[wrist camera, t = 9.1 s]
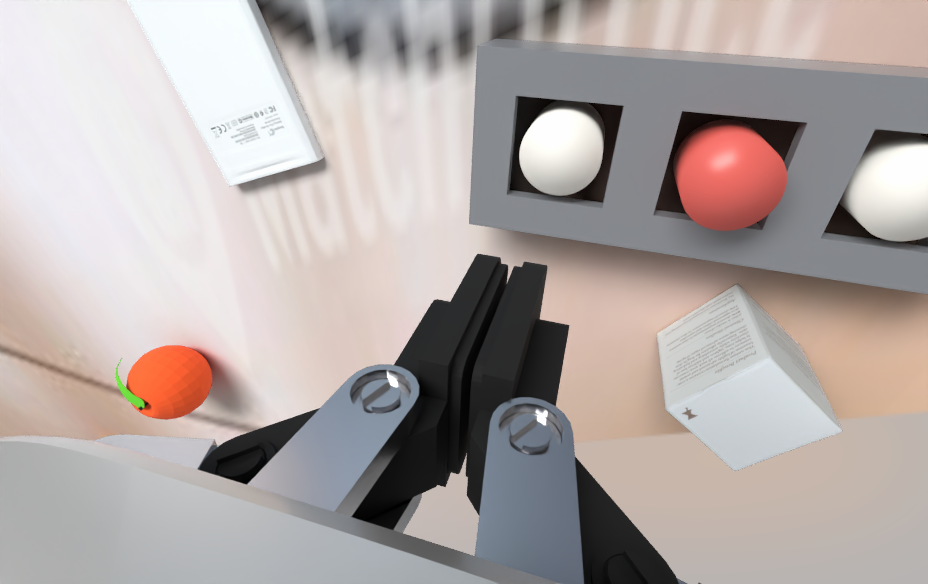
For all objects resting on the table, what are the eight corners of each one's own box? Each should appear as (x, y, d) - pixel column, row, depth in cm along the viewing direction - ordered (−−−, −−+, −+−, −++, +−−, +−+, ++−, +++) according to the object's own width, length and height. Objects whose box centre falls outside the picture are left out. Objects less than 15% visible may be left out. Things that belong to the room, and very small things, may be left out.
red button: (778, 124, 22) (804, 145, 19) (746, 205, 24) (765, 236, 21) (686, 115, 22) (696, 135, 19) (663, 194, 25) (669, 223, 22)
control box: (1046, 76, 20) (1129, 92, 17) (925, 260, 25) (970, 300, 22) (495, 38, 25) (477, 45, 22) (485, 198, 30) (469, 223, 27)
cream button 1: (611, 101, 25) (610, 117, 21) (597, 176, 27) (593, 200, 24) (535, 95, 25) (523, 109, 22) (527, 167, 28) (515, 189, 24)
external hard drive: (236, -59, 27) (329, 155, 32) (141, -7, 30) (240, 181, 35) (216, -62, 25) (316, 162, 31) (119, -7, 28) (225, 188, 34)
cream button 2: (950, 132, 21) (1004, 156, 18) (901, 214, 24) (944, 247, 21) (850, 123, 22) (887, 145, 19) (812, 203, 24) (840, 233, 21)
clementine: (151, 346, 49) (88, 394, 43) (169, 311, 45) (102, 358, 39) (215, 394, 50) (162, 447, 44) (237, 364, 46) (183, 417, 40)
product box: (712, 387, 33) (732, 475, 27) (653, 331, 32) (660, 410, 26) (802, 343, 29) (847, 433, 23) (739, 279, 28) (770, 356, 22)
